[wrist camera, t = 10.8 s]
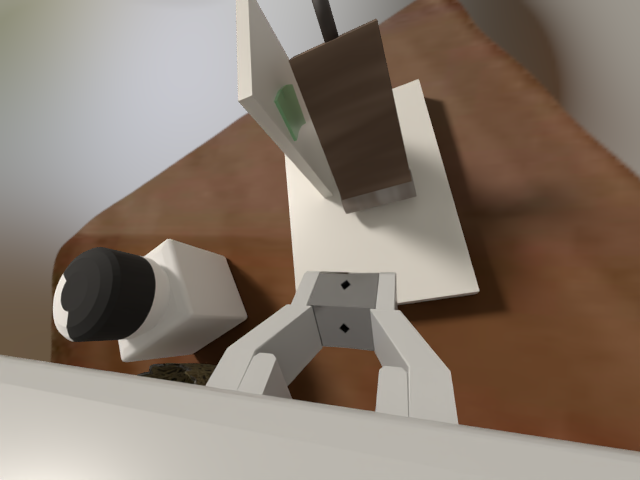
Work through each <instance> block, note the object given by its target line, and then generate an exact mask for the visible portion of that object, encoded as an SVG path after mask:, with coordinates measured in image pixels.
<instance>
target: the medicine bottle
mask: <svg viewBox="0 0 640 480" xmlns="http://www.w3.org/2000/svg"><path fill="white" fill-rule="evenodd" d="M53 317H54V322H55V325H56V327H57V329H58V331H59V332H60V333H61V334H62V335H63V336H64V337H65V338H67V339H68V340H70V341H74V342H82V341H104V340H118V341H119V347H120V353H121V359H122V361H124V362H131V361H140V360H148V359H157V358H165V357H173V356H182V355H190V354H193V353H195V352H197V351H198V350H200V349H201V348H203V347H204V346H206V345H207V344H209V343H211V342H212V341H214V340H215V339H217V338H218V337H220V336H221V335H223V334H224V333H226V332H227V331H229V330H231V329H232V328H234V327H235V326H237V325H238V324H240V323H241V322H243V321H244V320H246V319H247V313H246V311H245V308H244V306H243V303H242V300H241V298H240V295H239V292H238V290H237V287H236V284H235V282H234V279H233V276H232V274H231V271H230V268H229V266H228V263H227V261H226V258H225V257H224V256H222V255H219V254H215V253H212V252H209V251H206V250H203V249H200V248H197V247H194V246H191V245H187V244H184V243H181V242H178V241H175V240H172V239H167V240H166V241H164V242H163V243H162V244H160V245H159V246H158V247H156V248H155V249H154V250H152V251H151V252H150V253H148V254H147V255H146V256H144V257H142V256H138V255H134V254H130V253H125V252H121V251H117V250H112V249H108V248H103V247H97V248H93V249H90V250H88V251H86V252H83V253H82V254H80V255H79V256H78V257H76V258H75V259H74V260H73V261H72V262H71V263H70V265H69V266H68V267H67V269H66V270H65V272H64V273H63V275H62V277H61V279H60V281H59V283H58V285H57V288H56V291H55V295H54V302H53Z"/></svg>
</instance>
